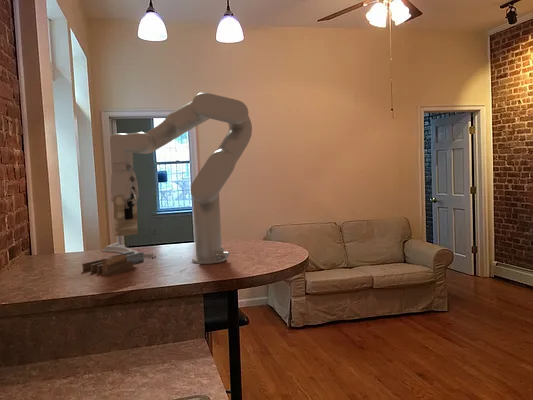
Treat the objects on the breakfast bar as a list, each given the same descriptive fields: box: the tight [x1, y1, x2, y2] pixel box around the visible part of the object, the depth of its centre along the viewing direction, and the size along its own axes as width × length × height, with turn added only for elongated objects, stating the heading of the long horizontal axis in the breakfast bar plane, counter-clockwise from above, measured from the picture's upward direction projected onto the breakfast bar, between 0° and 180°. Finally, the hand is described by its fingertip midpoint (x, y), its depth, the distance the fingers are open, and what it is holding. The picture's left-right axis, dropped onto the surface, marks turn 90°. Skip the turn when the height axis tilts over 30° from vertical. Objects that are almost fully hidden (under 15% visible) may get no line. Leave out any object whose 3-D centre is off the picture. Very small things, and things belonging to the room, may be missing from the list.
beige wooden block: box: [112, 196, 139, 237], centre depth 168 cm, size 3×8×14 cm, turn 147°
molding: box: [101, 241, 157, 260], centre depth 194 cm, size 42×12×3 cm, turn 37°
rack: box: [81, 258, 135, 277], centre depth 157 cm, size 15×11×4 cm
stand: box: [112, 251, 150, 266], centre depth 169 cm, size 9×11×4 cm
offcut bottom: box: [102, 266, 107, 274], centre depth 155 cm, size 4×8×2 cm, turn 147°
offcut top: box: [101, 253, 127, 267], centre depth 155 cm, size 4×7×2 cm, turn 147°
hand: (125, 218), depth 168 cm, fingers closed on beige wooden block, 3 cm apart
